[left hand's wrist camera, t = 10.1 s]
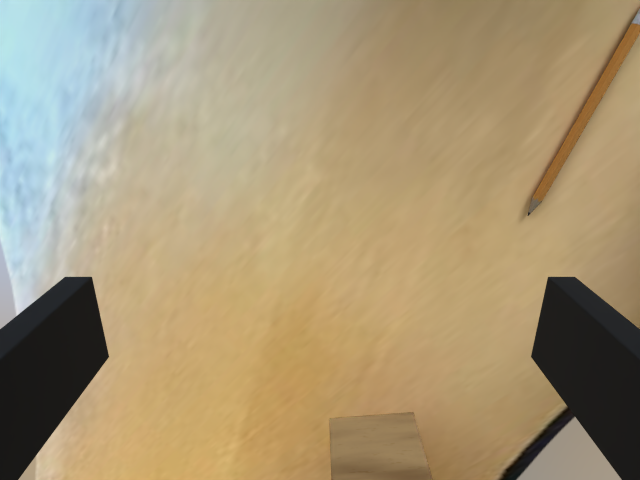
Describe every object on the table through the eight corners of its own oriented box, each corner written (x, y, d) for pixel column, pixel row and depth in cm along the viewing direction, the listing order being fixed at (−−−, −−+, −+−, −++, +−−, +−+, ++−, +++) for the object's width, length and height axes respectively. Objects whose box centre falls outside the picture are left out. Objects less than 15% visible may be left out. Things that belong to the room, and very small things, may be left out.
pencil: (643, -4, 34) (520, 212, 40) (656, -3, 33) (529, 217, 40) (647, 1, 34) (525, 214, 41) (661, 2, 34) (535, 219, 40)
